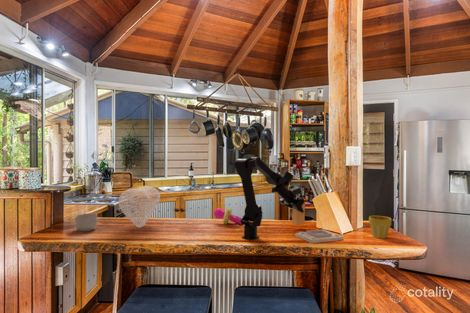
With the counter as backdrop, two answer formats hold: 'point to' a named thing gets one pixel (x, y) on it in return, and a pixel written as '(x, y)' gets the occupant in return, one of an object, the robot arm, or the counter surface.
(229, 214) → the toy
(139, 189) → the heart
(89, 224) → the teacup
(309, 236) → the baseplate
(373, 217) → the plant pot
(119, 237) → the counter surface
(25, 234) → the counter surface
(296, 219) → the column brick
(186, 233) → the counter surface
